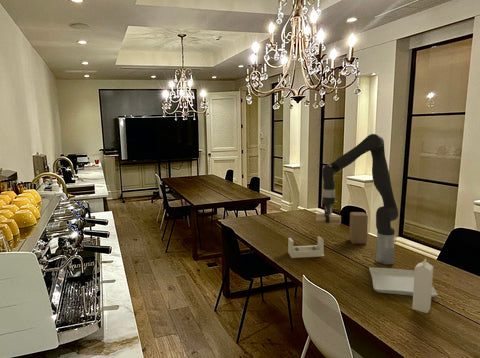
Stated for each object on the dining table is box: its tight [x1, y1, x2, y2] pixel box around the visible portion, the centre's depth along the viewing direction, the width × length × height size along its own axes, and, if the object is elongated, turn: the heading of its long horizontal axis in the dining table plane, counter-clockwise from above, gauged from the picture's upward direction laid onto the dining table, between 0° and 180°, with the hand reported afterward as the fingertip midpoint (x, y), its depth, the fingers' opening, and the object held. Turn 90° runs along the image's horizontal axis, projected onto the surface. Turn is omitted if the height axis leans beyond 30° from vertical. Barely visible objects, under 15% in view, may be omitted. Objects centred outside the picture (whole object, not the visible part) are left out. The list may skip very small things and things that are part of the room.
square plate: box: [368, 267, 439, 298], centre depth 170 cm, size 27×27×4 cm
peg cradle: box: [287, 236, 325, 259], centre depth 214 cm, size 10×20×10 cm, turn 95°
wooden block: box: [348, 211, 369, 245], centre depth 235 cm, size 10×10×20 cm
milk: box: [411, 258, 434, 314], centre depth 147 cm, size 6×6×22 cm
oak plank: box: [315, 213, 342, 226], centre depth 220 cm, size 4×15×5 cm, turn 65°
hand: (328, 221), depth 221 cm, fingers closed on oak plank, 4 cm apart
